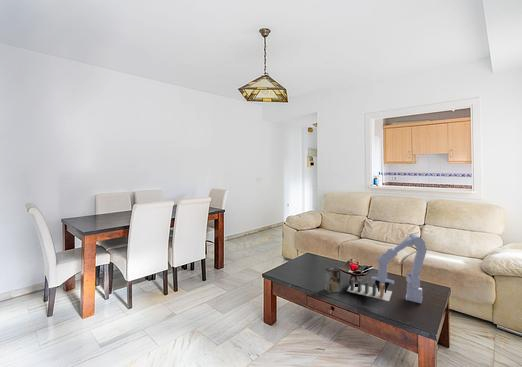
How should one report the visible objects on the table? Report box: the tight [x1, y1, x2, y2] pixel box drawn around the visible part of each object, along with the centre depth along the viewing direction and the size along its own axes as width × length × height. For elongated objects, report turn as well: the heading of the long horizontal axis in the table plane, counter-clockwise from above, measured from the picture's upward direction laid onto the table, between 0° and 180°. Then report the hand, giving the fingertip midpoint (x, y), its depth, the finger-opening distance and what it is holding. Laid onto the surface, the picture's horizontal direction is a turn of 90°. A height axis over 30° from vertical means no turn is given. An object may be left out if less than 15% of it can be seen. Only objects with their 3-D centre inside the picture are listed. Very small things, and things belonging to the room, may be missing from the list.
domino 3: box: [364, 279, 370, 294], centre depth 194 cm, size 2×5×8 cm, turn 148°
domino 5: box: [380, 282, 385, 298], centre depth 189 cm, size 2×5×8 cm, turn 147°
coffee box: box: [324, 266, 341, 294], centre depth 198 cm, size 9×6×16 cm
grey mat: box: [346, 284, 393, 302], centre depth 197 cm, size 28×16×1 cm, turn 57°
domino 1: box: [350, 276, 356, 291], centre depth 200 cm, size 2×5×8 cm, turn 147°
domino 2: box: [357, 278, 363, 292], centre depth 197 cm, size 2×5×8 cm, turn 147°
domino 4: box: [372, 281, 377, 296], centre depth 192 cm, size 2×5×8 cm, turn 147°
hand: (382, 291), depth 189 cm, fingers open, 3 cm apart
